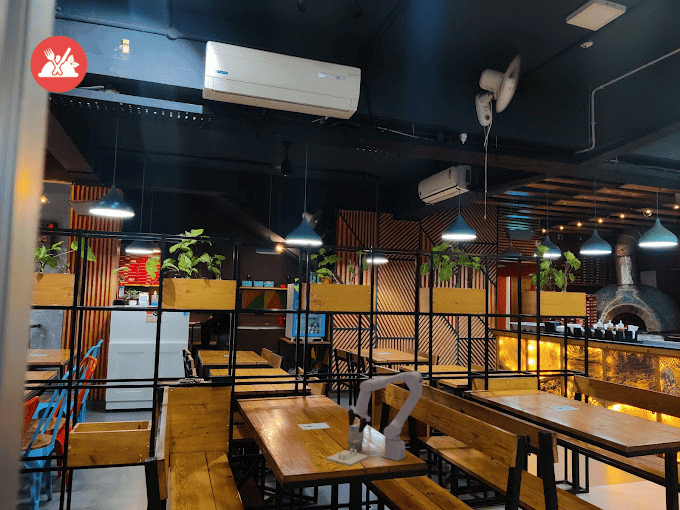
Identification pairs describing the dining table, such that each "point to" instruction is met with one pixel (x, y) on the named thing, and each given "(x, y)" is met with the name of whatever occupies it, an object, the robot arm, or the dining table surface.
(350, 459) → the pin tray
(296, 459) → the dining table surface
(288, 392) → the dining table surface
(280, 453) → the dining table surface
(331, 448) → the dining table surface
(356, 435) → the medicine box
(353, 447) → the block
